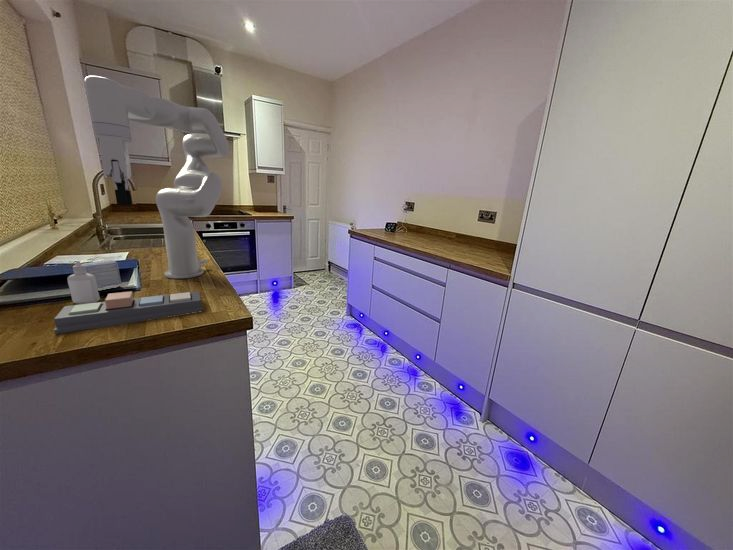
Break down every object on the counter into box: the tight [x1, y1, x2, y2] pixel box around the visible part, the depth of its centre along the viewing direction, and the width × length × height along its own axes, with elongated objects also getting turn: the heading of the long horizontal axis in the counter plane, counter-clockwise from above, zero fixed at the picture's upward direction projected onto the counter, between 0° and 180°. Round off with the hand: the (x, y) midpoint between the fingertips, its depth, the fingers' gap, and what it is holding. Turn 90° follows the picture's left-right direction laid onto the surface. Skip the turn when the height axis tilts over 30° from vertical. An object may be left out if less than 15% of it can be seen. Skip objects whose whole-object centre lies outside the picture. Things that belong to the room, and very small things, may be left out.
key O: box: [104, 291, 134, 309], centre depth 74 cm, size 5×5×2 cm
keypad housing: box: [53, 290, 203, 335], centre depth 76 cm, size 29×11×3 cm, turn 123°
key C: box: [70, 301, 102, 315], centre depth 71 cm, size 5×5×2 cm
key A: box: [170, 291, 191, 303], centre depth 81 cm, size 5×5×2 cm
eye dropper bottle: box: [66, 260, 101, 305], centre depth 80 cm, size 4×6×12 cm
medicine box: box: [81, 259, 122, 288], centre depth 90 cm, size 8×4×9 cm, turn 149°
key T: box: [140, 294, 164, 306], centre depth 78 cm, size 5×5×2 cm
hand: (125, 204), depth 80 cm, fingers closed
